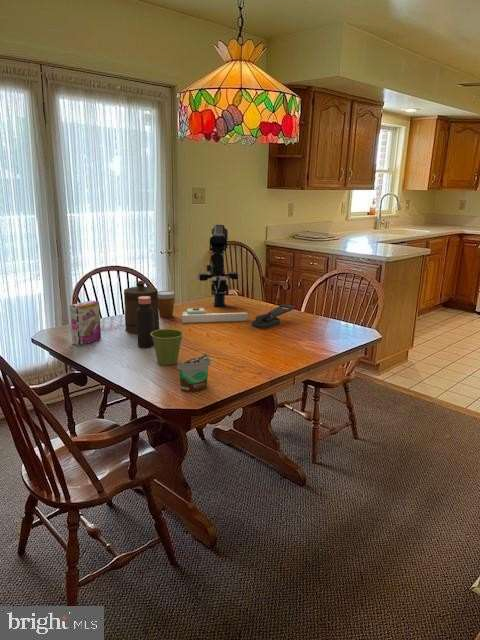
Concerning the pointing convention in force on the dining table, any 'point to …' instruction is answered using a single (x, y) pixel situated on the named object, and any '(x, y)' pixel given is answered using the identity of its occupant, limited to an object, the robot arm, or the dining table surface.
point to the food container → (194, 374)
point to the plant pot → (167, 345)
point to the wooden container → (132, 305)
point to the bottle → (145, 322)
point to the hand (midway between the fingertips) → (217, 293)
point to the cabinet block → (196, 311)
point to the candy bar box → (85, 322)
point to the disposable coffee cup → (166, 303)
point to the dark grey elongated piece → (268, 321)
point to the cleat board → (214, 317)
